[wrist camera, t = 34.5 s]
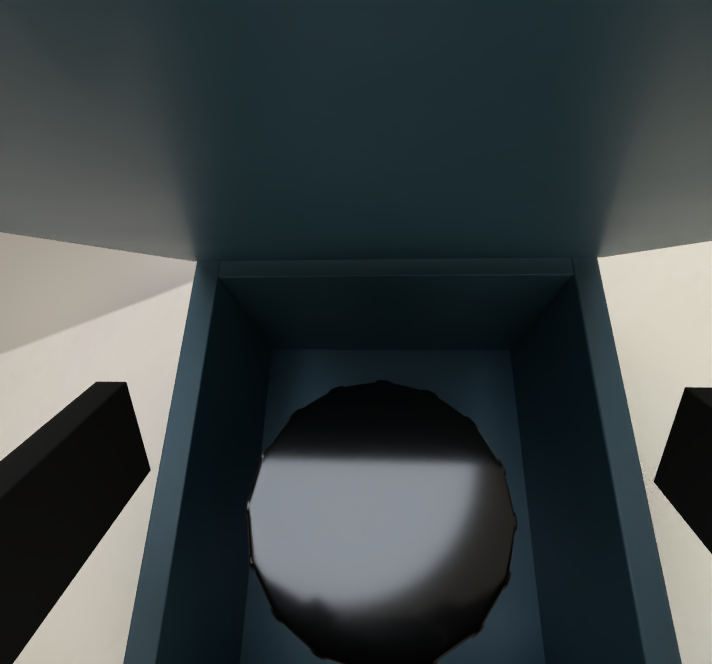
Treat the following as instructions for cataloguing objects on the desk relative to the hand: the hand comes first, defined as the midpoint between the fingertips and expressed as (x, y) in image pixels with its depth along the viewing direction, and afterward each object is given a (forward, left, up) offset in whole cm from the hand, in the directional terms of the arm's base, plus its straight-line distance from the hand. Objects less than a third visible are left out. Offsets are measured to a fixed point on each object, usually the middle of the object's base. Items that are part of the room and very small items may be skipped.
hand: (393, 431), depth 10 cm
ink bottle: (0, -1, -13) cm, 13 cm away
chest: (+1, -1, -14) cm, 14 cm away
